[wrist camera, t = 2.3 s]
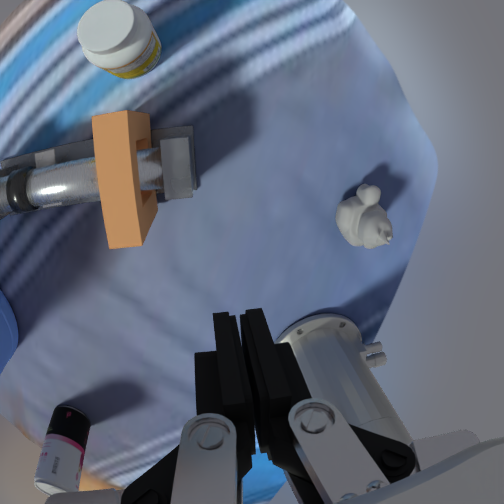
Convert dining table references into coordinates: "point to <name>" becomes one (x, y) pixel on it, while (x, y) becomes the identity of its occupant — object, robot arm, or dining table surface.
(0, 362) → the water jug
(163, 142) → the pipe rig
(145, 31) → the supplement bottle
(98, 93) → the dining table surface
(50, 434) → the beverage can
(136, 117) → the collar
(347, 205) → the grey figurine
